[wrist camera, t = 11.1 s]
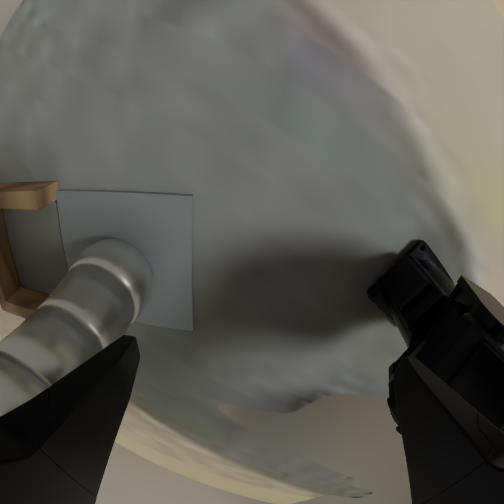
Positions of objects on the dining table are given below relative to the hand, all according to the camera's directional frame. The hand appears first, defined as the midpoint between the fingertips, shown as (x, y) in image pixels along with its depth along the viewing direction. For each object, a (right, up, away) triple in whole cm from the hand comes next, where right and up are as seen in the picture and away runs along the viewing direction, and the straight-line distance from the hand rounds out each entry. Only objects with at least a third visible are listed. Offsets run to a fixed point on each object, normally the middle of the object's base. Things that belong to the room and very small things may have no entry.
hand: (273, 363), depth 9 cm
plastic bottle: (-11, +2, +14) cm, 18 cm away
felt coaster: (-11, +3, +14) cm, 18 cm away
